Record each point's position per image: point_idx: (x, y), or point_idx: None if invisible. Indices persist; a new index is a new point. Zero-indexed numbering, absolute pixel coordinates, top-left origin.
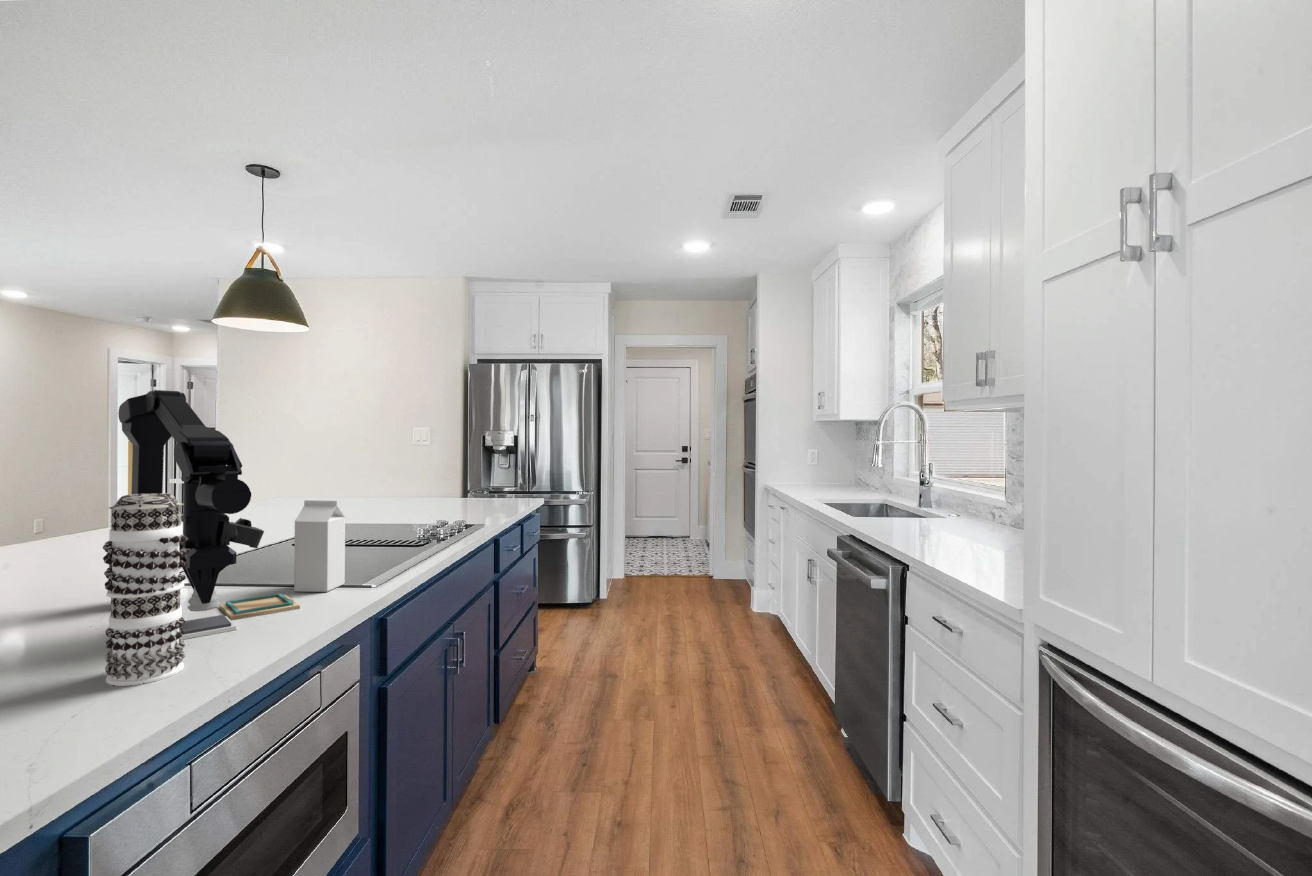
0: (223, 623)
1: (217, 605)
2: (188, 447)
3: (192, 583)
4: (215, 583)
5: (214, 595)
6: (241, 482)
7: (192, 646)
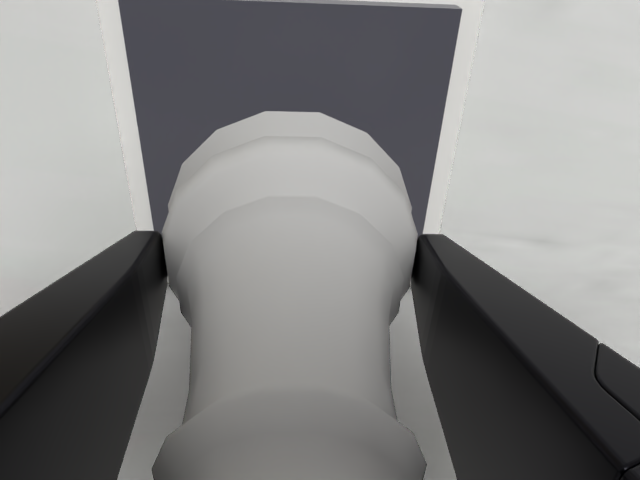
0: (414, 56)
1: (370, 138)
2: None
3: (128, 436)
4: (605, 347)
5: (364, 209)
6: None
7: (599, 234)
